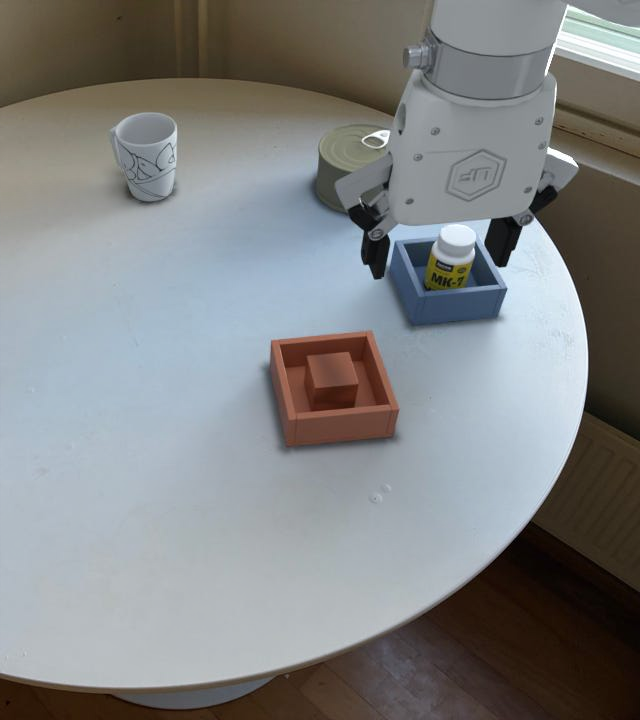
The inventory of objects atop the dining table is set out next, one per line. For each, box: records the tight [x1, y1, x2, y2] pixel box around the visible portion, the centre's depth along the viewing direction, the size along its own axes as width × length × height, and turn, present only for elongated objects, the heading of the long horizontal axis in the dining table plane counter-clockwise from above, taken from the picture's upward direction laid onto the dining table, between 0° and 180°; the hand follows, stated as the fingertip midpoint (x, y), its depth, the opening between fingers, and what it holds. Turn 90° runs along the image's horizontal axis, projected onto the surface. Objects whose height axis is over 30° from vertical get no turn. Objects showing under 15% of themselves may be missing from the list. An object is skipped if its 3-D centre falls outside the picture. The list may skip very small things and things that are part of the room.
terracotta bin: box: [269, 330, 401, 448], centre depth 82 cm, size 11×11×5 cm
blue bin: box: [389, 232, 509, 326], centre depth 92 cm, size 10×10×5 cm
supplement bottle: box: [423, 223, 476, 292], centre depth 90 cm, size 5×5×8 cm
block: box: [304, 352, 359, 412], centre depth 81 cm, size 4×4×4 cm
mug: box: [108, 111, 178, 203], centre depth 109 cm, size 11×8×10 cm
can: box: [315, 123, 391, 214], centre depth 106 cm, size 12×12×7 cm
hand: (434, 262), depth 61 cm, fingers open, 9 cm apart
